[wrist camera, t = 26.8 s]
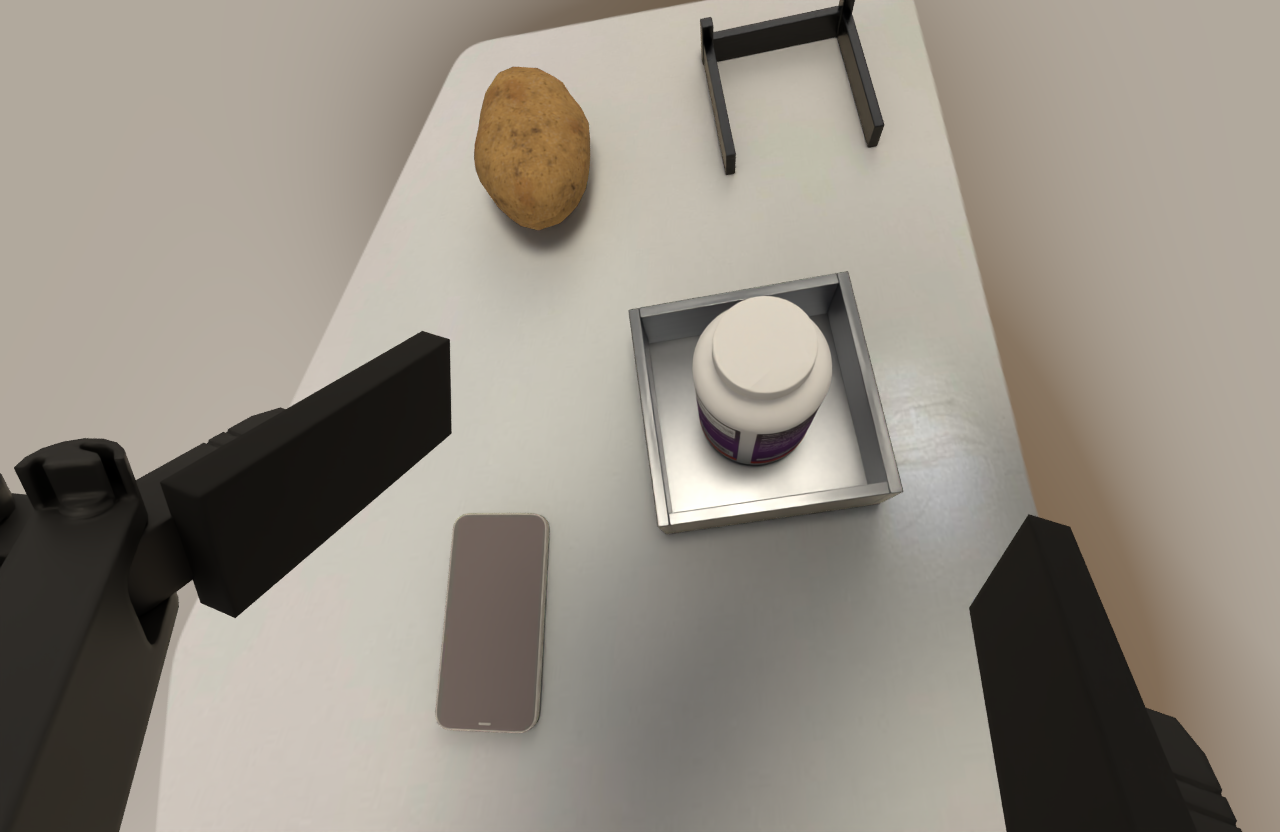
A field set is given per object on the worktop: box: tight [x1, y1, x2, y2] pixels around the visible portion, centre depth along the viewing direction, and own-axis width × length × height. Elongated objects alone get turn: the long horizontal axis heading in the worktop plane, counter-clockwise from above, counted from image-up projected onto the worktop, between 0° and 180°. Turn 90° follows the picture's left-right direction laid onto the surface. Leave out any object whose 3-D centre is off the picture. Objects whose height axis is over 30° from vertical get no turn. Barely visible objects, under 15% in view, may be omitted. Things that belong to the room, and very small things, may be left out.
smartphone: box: [435, 513, 549, 733], centre depth 45 cm, size 7×1×15 cm
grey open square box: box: [629, 271, 903, 534], centre depth 44 cm, size 16×16×6 cm
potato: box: [474, 67, 590, 230], centre depth 51 cm, size 10×14×8 cm
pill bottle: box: [692, 296, 832, 465], centre depth 39 cm, size 8×8×14 cm
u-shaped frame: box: [700, 0, 884, 175], centre depth 52 cm, size 13×13×4 cm
